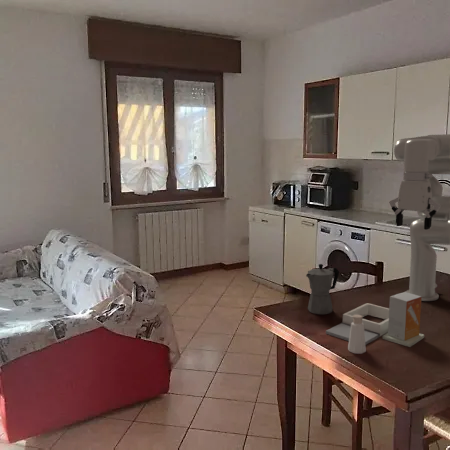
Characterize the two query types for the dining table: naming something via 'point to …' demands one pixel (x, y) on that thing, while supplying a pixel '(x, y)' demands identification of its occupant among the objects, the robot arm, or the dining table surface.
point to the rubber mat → (406, 343)
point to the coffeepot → (321, 289)
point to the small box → (404, 315)
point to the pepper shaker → (357, 336)
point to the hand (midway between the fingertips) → (413, 227)
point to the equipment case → (370, 327)
